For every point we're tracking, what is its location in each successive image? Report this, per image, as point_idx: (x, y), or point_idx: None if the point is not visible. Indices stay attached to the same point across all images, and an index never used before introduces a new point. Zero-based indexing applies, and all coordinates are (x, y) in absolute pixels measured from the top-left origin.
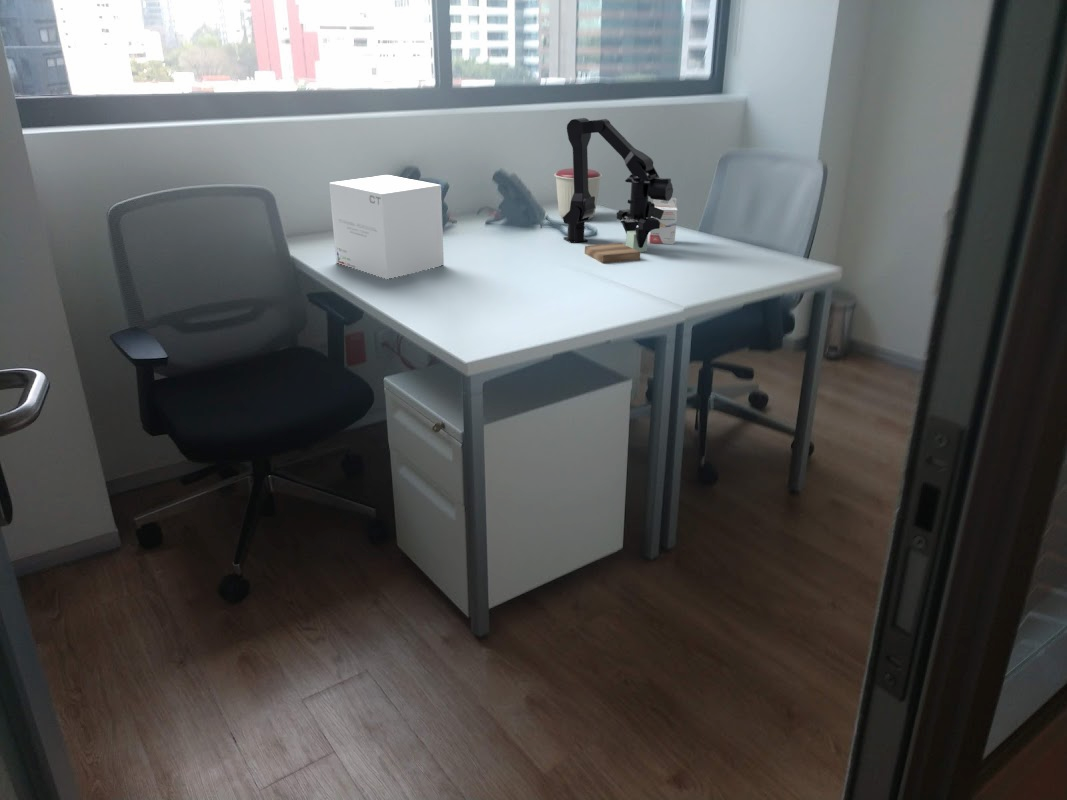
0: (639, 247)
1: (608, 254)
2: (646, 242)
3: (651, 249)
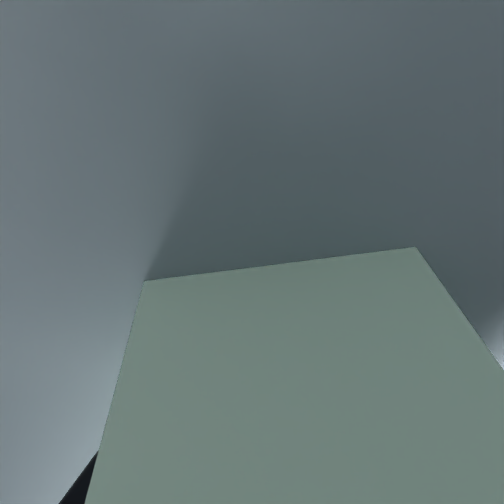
0: None
1: None
2: (490, 368)
3: (312, 93)
